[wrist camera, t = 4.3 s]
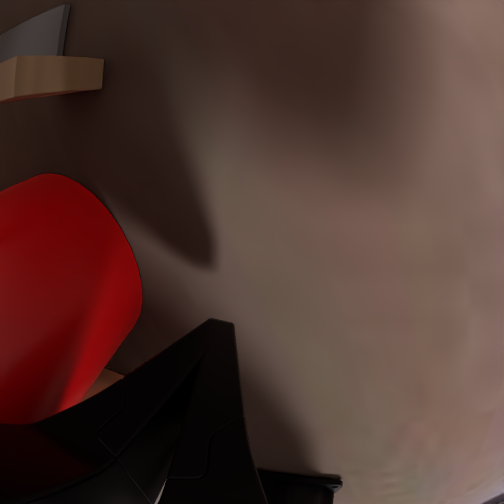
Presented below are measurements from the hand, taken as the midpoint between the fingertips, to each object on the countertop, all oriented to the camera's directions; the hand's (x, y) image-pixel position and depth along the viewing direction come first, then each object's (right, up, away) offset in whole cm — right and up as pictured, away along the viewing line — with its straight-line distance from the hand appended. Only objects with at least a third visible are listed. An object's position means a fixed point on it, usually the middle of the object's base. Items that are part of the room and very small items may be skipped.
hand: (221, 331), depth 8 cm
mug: (-9, +3, +3) cm, 10 cm away
